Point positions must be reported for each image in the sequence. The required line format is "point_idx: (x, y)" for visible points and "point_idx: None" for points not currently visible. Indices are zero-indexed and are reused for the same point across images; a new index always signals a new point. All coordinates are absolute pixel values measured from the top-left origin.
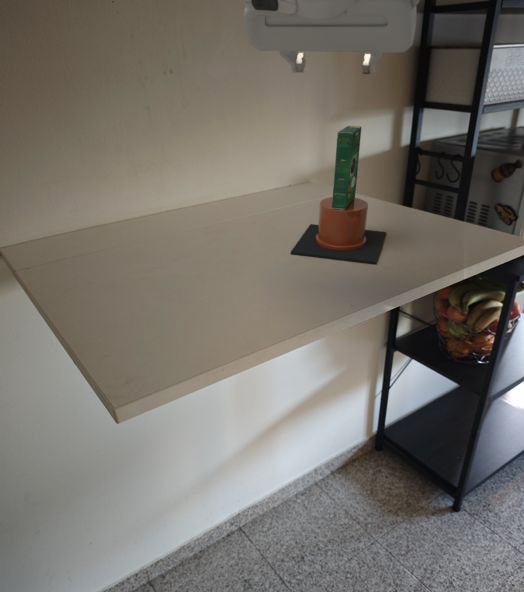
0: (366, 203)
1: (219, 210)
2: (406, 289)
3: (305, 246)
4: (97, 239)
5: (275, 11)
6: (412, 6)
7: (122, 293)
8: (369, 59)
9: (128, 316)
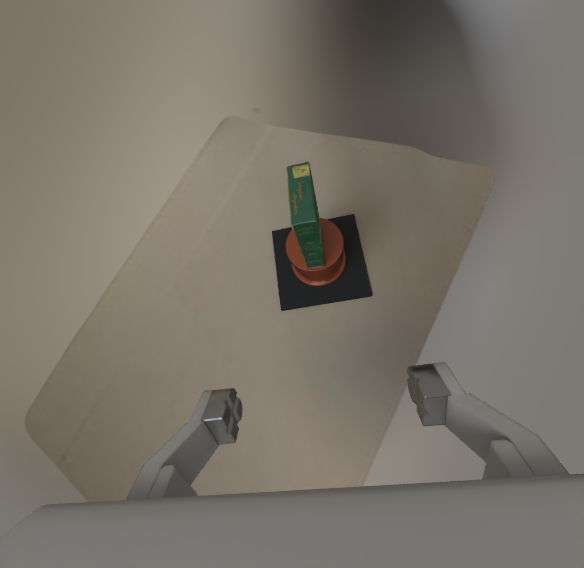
0: (338, 231)
1: (170, 236)
2: (422, 341)
3: (289, 290)
4: (91, 363)
5: None
6: None
7: None
8: (444, 411)
9: None
